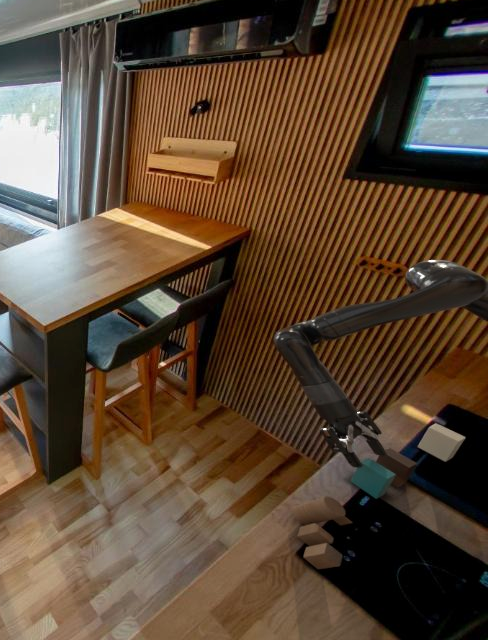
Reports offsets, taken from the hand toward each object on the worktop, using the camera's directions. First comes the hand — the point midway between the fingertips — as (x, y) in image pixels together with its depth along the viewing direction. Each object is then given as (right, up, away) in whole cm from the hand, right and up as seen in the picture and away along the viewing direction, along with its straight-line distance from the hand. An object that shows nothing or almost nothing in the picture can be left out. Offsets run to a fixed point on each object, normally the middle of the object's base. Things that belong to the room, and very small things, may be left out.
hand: (369, 460), depth 91 cm
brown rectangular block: (+9, -6, +4) cm, 12 cm away
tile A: (+27, -1, +7) cm, 27 cm away
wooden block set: (-19, -16, -5) cm, 25 cm away
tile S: (+2, -8, +2) cm, 9 cm away
